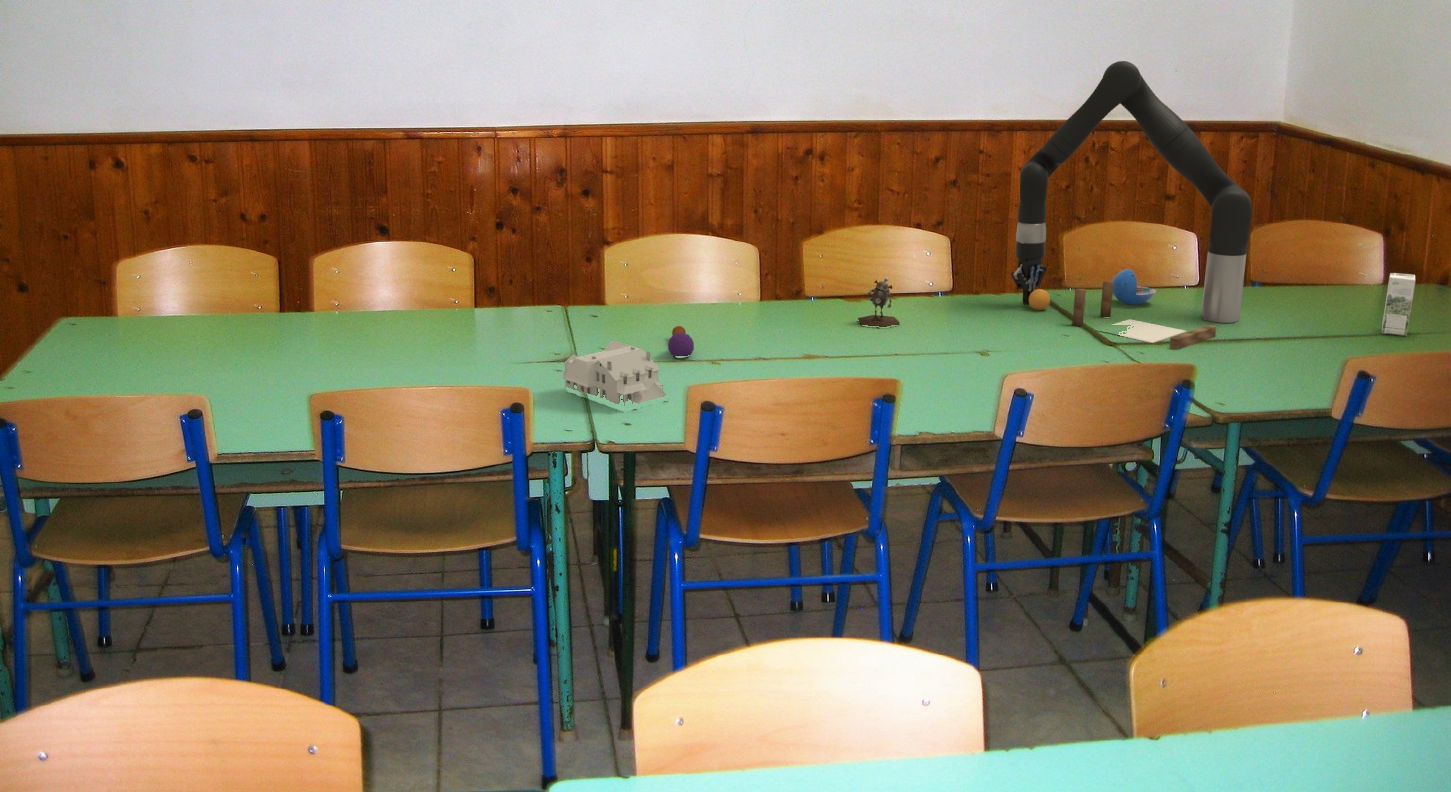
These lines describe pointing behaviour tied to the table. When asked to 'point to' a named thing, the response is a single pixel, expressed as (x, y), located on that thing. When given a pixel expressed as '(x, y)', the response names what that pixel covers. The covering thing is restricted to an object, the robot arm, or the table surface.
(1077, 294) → the post near
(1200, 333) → the wall
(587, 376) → the house model
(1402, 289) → the syrup box
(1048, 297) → the ball
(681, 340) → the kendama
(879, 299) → the robot figurine
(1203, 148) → the robot arm
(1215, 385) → the table surface
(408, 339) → the table surface
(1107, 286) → the post far
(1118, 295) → the cell model
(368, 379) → the table surface
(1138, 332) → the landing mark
